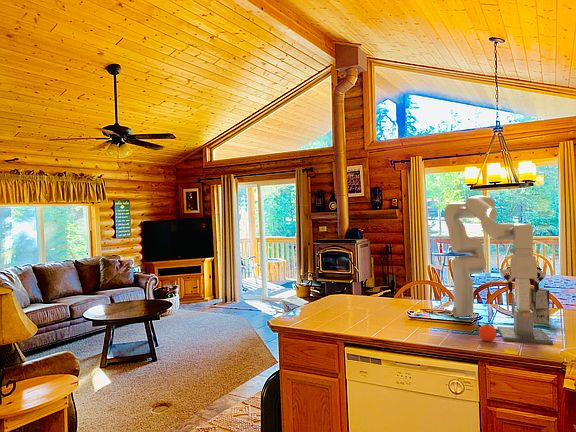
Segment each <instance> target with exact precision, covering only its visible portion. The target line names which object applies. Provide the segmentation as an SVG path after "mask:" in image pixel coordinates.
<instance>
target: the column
mask: <svg viewBox="0 0 576 432" xmlns="http://www.w3.org/2000/svg"><path fill="white" fill-rule="evenodd" d="M529 280H530V279H520V278H517V304H516V308H517V310H518V311H524V312H530V306H529Z"/></svg>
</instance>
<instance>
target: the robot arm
mask: <svg viewBox="0 0 576 432" xmlns="http://www.w3.org/2000/svg"><path fill="white" fill-rule="evenodd" d="M497 215H498V211H497V209H496V202H495V200H494V199H493V198H492V197H490V196H488V195H474V196H469V197H467V199H466V200H465V202H464V201H455V202H450V203H448V204H447V205H446V206H445V208H444V211H443V218H444V222H445V224H446V227H447V230H448V236H449V242H450V247H451V250H452V252H453V253H454V254H459V255H460V256H456V257H454V258H453V259H452V260H451V271H452V275H453V306H451V307H447V306H446V307H444V312H447V313H450V316H451V315H454V316H469V315H472V314H473V313H474V281H473V278H472V277H471V275H474V274H482V273H484V271H485V270H486V267H487V266H486V265H487V264H486V256H485V252H484V247H483V243H482V241H481V238H479V237H478V236H476V235H468V234H467V233H466V232H467V231H466V227H465V225H464V223H463V222H462V221H461V220H460V219H474V218H477V219H478V220H479V221H480V223H481V228H482V230H483V232H484V233H485V234H487V235H488V236H490V237H491V238H492V239H494V240H497V241H505V240H506V241H507V240H509V241H511V240H512V245H513V247H512V248H511V249H509V253H512V254H511V256H510V262H509V267H508V268H505V269H503V270H501V271H500V274H501V275H502V277H503V278H504V279H505V281H507V288H508V289H507V290H509V291H510V292H513V280H514V279H516V278H520V279H529V280H534V282H533V288H534V291H535V292H537V290H539V288H540V286H539V285H540V282H542V281H543V280H544V278H545V277H546V275H547V272H544V271H542V270H540V269H538V266H537V259H536V255H534V239H533V238H534V234H533V233H534V229H533V227H534V226H533V225H532V224H529V223H516V222H502V223H501V222H500V223H499V222H497V221H496V218H497V217H498V216H497ZM462 254H469V255H462ZM507 273H509V276H508V275H506V274H507ZM538 273H539V274H540V276H539V277H538ZM452 312H453V314H452Z"/></svg>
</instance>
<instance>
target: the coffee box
mask: <svg viewBox="0 0 576 432" xmlns="http://www.w3.org/2000/svg"><path fill="white" fill-rule="evenodd" d="M529 308H530V310H531V311H532V312H533V323H535V324H547V323H549V324H550V290H549V289H546V288H544V287H539V290H537V292H535V291H534V287H531V288H529Z"/></svg>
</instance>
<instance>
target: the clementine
mask: <svg viewBox="0 0 576 432" xmlns="http://www.w3.org/2000/svg"><path fill="white" fill-rule="evenodd" d="M478 336H479V337H480V339H482V340H483V341H485V342H489V343H490V342H493V341H495V339H496V338H497V330H496V328H495V327H494V326H493V325H492V324H489V323H485V324H483V325H481V326H480V327H479V328H478Z"/></svg>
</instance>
